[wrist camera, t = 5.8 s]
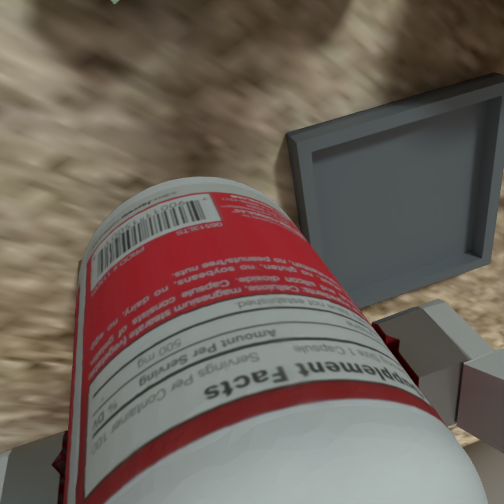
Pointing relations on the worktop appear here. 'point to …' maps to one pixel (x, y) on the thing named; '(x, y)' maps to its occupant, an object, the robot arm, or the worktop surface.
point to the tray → (403, 188)
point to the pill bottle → (238, 368)
